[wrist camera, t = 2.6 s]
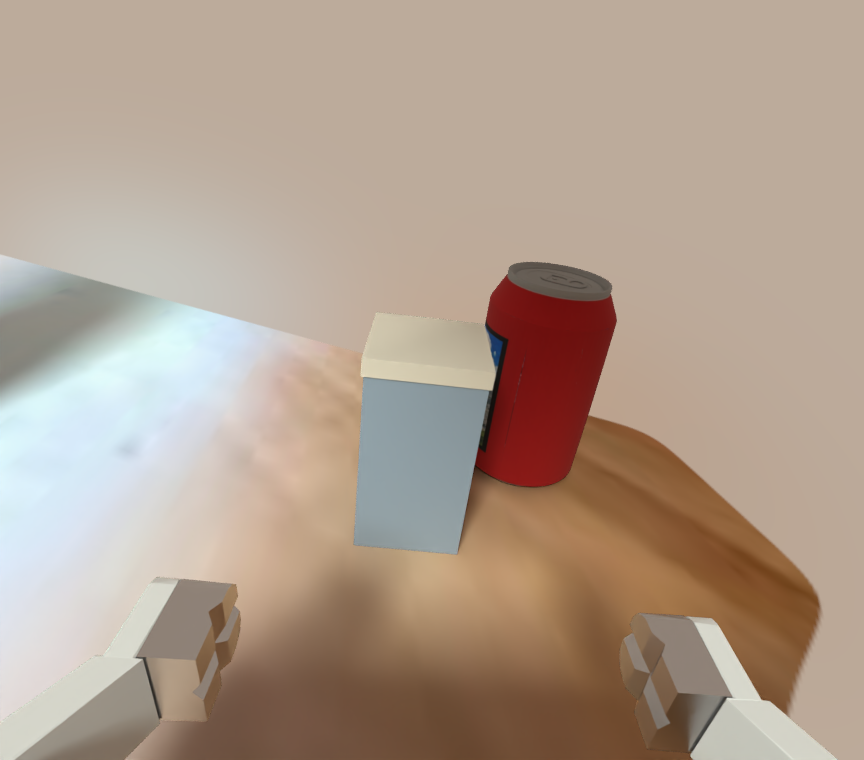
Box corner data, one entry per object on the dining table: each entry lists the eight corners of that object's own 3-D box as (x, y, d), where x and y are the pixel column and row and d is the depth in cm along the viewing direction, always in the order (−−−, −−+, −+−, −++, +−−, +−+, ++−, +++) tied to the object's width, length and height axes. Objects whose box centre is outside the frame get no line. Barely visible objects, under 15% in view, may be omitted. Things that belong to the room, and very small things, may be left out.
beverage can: (487, 420, 35) (520, 252, 29) (580, 455, 32) (636, 279, 27) (443, 467, 29) (474, 272, 24) (550, 514, 27) (613, 308, 21)
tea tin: (351, 546, 23) (361, 358, 19) (365, 476, 28) (376, 311, 23) (459, 556, 24) (495, 372, 19) (455, 485, 28) (484, 324, 23)
